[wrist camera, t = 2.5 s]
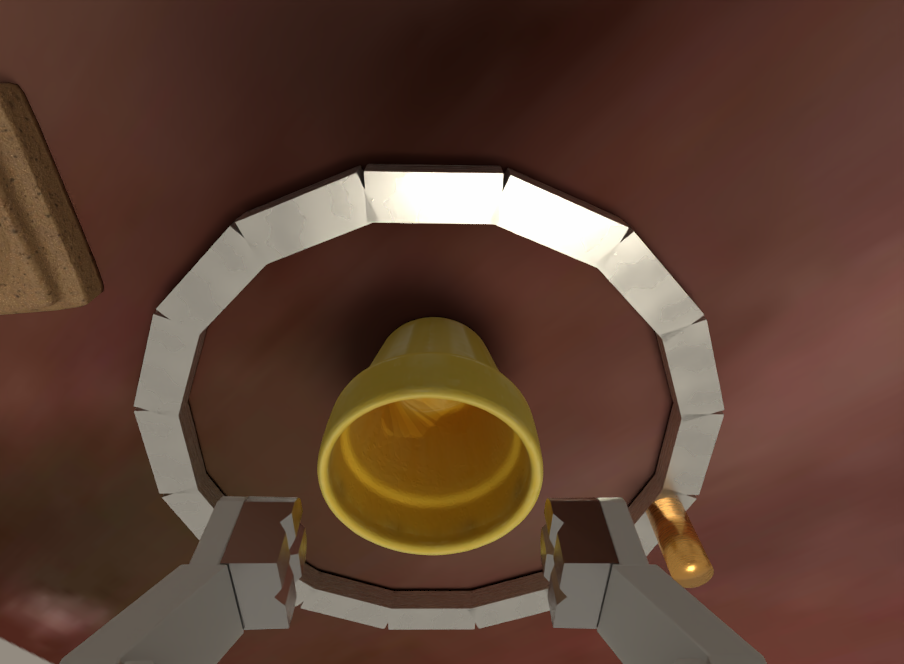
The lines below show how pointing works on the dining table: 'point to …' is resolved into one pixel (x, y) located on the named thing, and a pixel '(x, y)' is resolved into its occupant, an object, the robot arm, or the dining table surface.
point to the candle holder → (37, 221)
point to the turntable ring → (460, 202)
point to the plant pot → (431, 445)
